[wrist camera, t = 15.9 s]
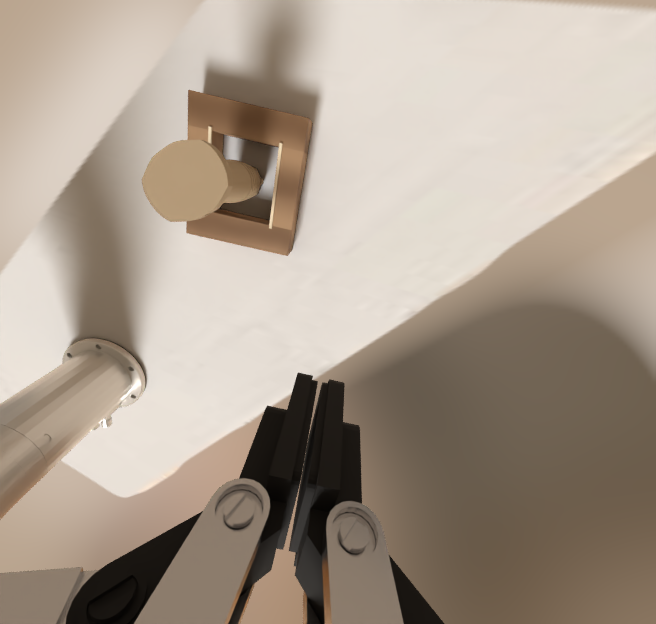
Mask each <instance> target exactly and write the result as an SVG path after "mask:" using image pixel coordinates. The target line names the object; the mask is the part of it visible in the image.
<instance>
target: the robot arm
mask: <svg viewBox="0 0 656 624" xmlns="http://www.w3.org/2000/svg"><path fill="white" fill-rule="evenodd" d="M312 377H313V376H311V375H306V374H302V373H298V374H297V377H296V381H295V385H294V388H293V392H292V395H291V399H290V402H289V406H288V409H287V410H284V409H280V408H276V407H271V406H267V407H266V409H265V412H264V414H263V417H262V420H261V422H260V425H259V428H258V430H257V433H256V435H255V438H254V441H253V443H252V446H251V449H250V451H249V454H248V457H247V459H246V462H245V465H244V467H243V470H242V472H241V475H240V478H239V479H234V480H232V481H229V482H227V483H225V484H224V485H222V486H221V487H220V488H219V489H218V490H217V491H216V492H215V494H214V495H213V496H212V498H211V499H210V501H209V502H208V504H207V506H206V507H205V509H204V511H202V512H201V513H199V514H197V515H195V516H193V517H192V518H190V519H188V520H186V521H184V522H183V523H181V524H179V525H177V526H175V527H174V528H172V529H170V530H168V531H167V532H165V533H163V534H161V535H159V536H158V537H156V538H154V539H152V540H150V541H149V542H147V543H145V544H143V545H141V546H140V547H138V548H136V549H134V550H133V551H131V552H129V553H127V554H125V555H123V556H122V557H120V558H118V559H116V560H114V561H113V562H111V563H109V564H107V565H106V566H104V567H103V568H102V569H100V570H95V571H83V568H82V567H77V568H64V569H51V570H37V571H23V572H9V573H0V624H240V623H241V620H242V618H243V615H244V612H245V609H246V607H247V604H248V601H249V599H250V596H251V593H252V591H253V588H254V584H255V582H257V581H258V580H259V579H260V578H262V577H263V576H264V575H265V574H267V573H268V572H269V571H270V570H271V568H272V564H273V560H274V556H275V551H276V548H277V549H283V547H284V544H285V540H286V536H287V532H288V528H289V524H290V520H291V516H292V512H293V508H294V505H295V501H296V497H297V492H298V489H299V484H300V480H301V484H300V489H299V495H298V501H297V507H296V512H295V518H294V524H293V530H292V535H291V541H290V547H289V551H292V552H296V555H295V561H294V566H296V572H295V576H296V577H297V579H298V581H299V583H300V584H301V586H302V588H303V590H304V593H303V624H444V623H443V621H442V620H441V619H440V618H439V616H438V615H437V614H436V613H435V611H434V610H433V609H432V608H431V607H430V606H429V604H428V603H427V602H426V600H425V599H424V598H423V597H422V595H421V594H420V593H419V592H418V590H416V588H415V587H414V585H413V584H412V583H411V582H410V580H409V579H408V578H407V577H406V575H405V574H404V573H403V572H402V571H401V569H400V568H399V567H398V565H396V563H395V562H394V561H393V559H392V558H391V557H390V556H389V554H388V549H387V545H386V540H385V535H384V531H383V528H382V526H381V523H380V521H379V519H378V518H377V516H376V515H375V514H374V513H373V512H372V511H371V510H370V509H369V508H368V507H367V506H365V505H363V504H362V495H361V494H362V492H361V454H360V427H359V426H358V425H354V424H349V423H345V422H343V406H344V383H343V382H338V381H334V380H329V381H328V383H322V386H321V390H320V394H319V398H318V402H317V406H316V410H315V414H314V418H313V422H312V426H311V430H310V434H309V429H310V424H311V418H312V412H313V406H314V401H315V395H316V389H317V381H314V380H312ZM144 389H145V376H144V373H143V371H142V369H141V367H140V365H139V363H138V362H137V361H136V359H135V358H134V357H133V356H132V355H131V354H130V353H128V352H127V351H126V350H125V349H123V348H122V347H120V346H118V345H116V344H114V343H112V342H109V341H106V340H102V339H95V338H91V339H84V340H80V341H78V342H76V343H75V344H73V345H71V346H70V347H69V348H68V349H67V350H66V351H65V353H64V356H63V363H62V365H60V366H59V367H57V368H56V369H54V370H52V371H51V372H49V373H48V374H46V375H45V376H43V377H42V378H40V379H38V380H37V381H35V382H34V383H32V384H31V385H29V386H27V387H26V388H24V389H23V390H21V391H20V392H18V393H17V394H15V395H13V396H12V397H10V398H9V399H7V400H6V401H4V402H3V403H1V404H0V520H1V518H2V517H3V516H4V515H5V514H6V513H7V512H8V511H9V510H10V509H11V508H12V507H13V506H14V505H15V504H16V503H17V502H18V501H19V500H20V499H21V498H22V497H23V496H24V495H25V494H26V493H27V492H28V491H29V490H30V489H31V488H32V487H33V486H34V485H35V484H36V483H37V482H38V481H40V480H41V478H43V477H44V476H45V475H46V474H47V473H48V472H49V471H50V470H51V469H52V468H53V467H54V466H55V465H56V464H57V463H58V462H59V461H60V460H61V459H62V458H63V457H64V456H65V455H66V454H68V453H69V452H70V451H71V450H72V449H73V448H74V447H75V446H76V445H77V444H78V443H79V442H80V441H81V440H82V439H83V438H84V437H85V436H86V435H87V434H88V433H89V432H90V431H92V430H95V429H97V428H98V427H99V426H100V424H99V423H100V422H101V423H102V427H109V426H110V425H111V424H112V419H111V414H112V413H113V412H114V411H116V410H117V409H118V408H119V407H125V406H129V405H131V404H133V403H134V402H135V401H137V400H138V399H139V397H140V396H141V395H142V394H143V392H144ZM308 435H309V438H308ZM307 441H308V443H307ZM306 447H307V448H306ZM305 452H306V454H305ZM304 458H305V460H304ZM303 464H304V466H303ZM302 470H303V472H302ZM301 475H302V477H301Z"/></svg>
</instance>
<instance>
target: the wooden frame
mask: <svg viewBox="0 0 656 624" xmlns="http://www.w3.org/2000/svg"><path fill="white" fill-rule="evenodd" d="M311 129H312V122H311V120H310V119H309V118H306V117H302V116H298V115H294V114H289V113H285V112H281V111H277V110H272V109H268V108H264V107H259V106H255V105H251V104H247V103H242V102H238V101H234V100H230V99H225V98H221V97H217V96H213V95H208V94H204V93H200V92H196V91H191V90H188V140H204V141H207V142H208V143H210V144H212V145H213V146H215V147H216V148H217V149H218V150H219V151H220V152H221V153H222V155H223V137H224V135H228V136H232V137H236V138H241V139H245V140H249V141H254V142H258V143H262V144H266V145H271V146H275V147H279V151H278V159H277V167H276V175H275V183H274V191H273V199H272V207H271V215H270V220H266V219H261V218H257V217H253V216H248V215H244V214H240V213H235V212H231V211H226V210H222V209H219V208H218V209H217V210H216V211H214V212H212V213H211V214H209V215H207V216H205V217H203V218H201V219H197V220H192V221H187V233H189V234H193V235H198V236H202V237H206V238H211V239H215V240H220V241H224V242H228V243H233V244H237V245H242V246H246V247H251V248H255V249H259V250H264V251H268V252H273V253H277V254H281V255H286V256H288V254H289V253H290V252H291V251H292V247H293V241H294V235H295V229H296V222H297V216H298V210H299V204H300V198H301V191H302V185H303V179H304V173H305V167H306V160H307V154H308V148H309V142H310V136H311Z"/></svg>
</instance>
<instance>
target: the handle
mask: <svg viewBox="0 0 656 624" xmlns="http://www.w3.org/2000/svg"><path fill="white" fill-rule="evenodd" d="M142 184H143V188H144V192H145V194H146V196H147V198H148V200H149V202H150V203H151V205H152V206H153V208H154V209H155V210H156V211H157V212H158V213H159V214H160V215H161V216H162V217H164V218H165V219H167V220H169V221H170V222H181V221H192V220H197V219H201V218H203V217H205V216H207V215H209V214H211V213H212V212H214V211H216V210H217V209H218V208H220V207H221V205H222V204H223V203H237V202H241V201H244V200H247V199H249V198H251V197H254V196H256V195H257V194H258V193H259V188H260V186H261V185H262V184H263V179H262V178H261V177H260V176H259V174H258V170H257V169H256V168H255V167H251V166H250V165H248V164H246V163H244V162H241V161H236V160H226V159H225V158H224V156H223V155H222V153H221V152H220V151H219V150H218V149H217V148H216V147H215V146H213V145H212V144H210V143H208V142H207V141H204V140H181V141H176V142H173V143H171V144H169V145H168V146H166V147H165V148H164V149H162V150H161V151H159V152H158V153H157V154H156V155H154V156H153V158H152V159H151V161H150V162H149V164H148V166H147V169H146V171H145V173H144V176H143V178H142Z"/></svg>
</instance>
